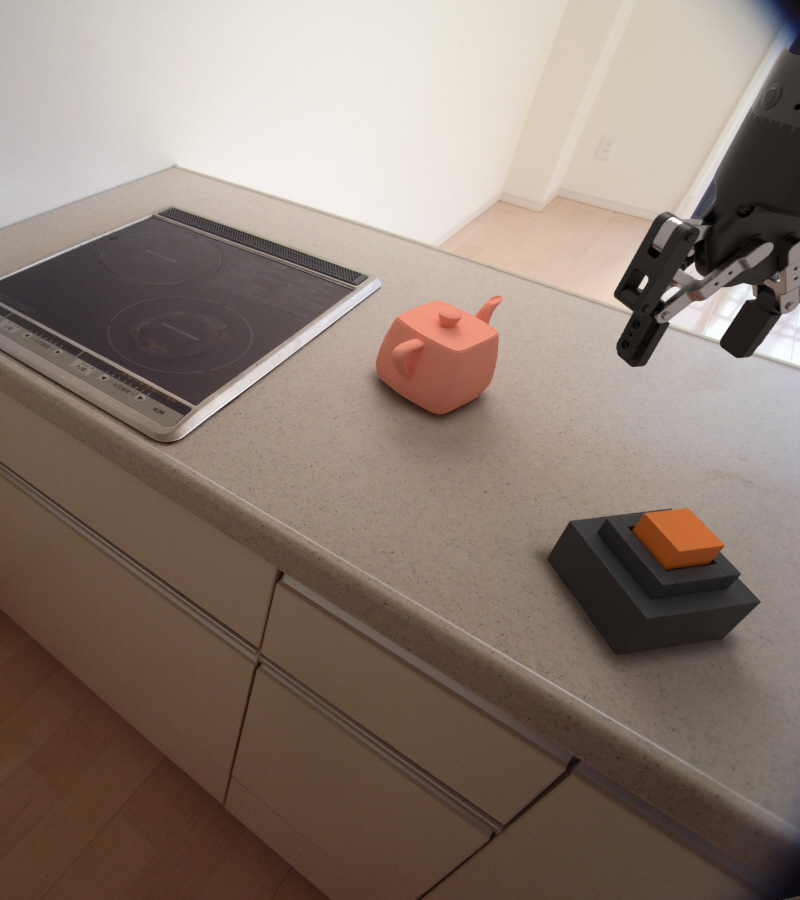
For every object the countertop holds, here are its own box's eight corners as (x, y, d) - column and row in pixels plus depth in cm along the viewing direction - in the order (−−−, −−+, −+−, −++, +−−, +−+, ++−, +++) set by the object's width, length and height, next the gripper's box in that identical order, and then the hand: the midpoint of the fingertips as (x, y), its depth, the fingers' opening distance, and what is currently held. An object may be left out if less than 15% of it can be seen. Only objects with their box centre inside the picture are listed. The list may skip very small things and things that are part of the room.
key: (709, 564, 51) (726, 545, 49) (664, 570, 50) (679, 551, 49) (673, 526, 54) (688, 507, 52) (630, 532, 53) (644, 512, 52)
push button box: (724, 638, 53) (776, 587, 49) (615, 655, 52) (659, 605, 47) (643, 545, 61) (682, 493, 56) (546, 558, 59) (578, 506, 55)
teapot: (346, 385, 79) (362, 309, 72) (442, 341, 87) (465, 269, 80) (418, 436, 72) (444, 358, 65) (516, 384, 80) (548, 309, 73)
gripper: (778, 136, 32) (627, 396, 43) (1010, 128, 34) (809, 378, 45) (672, 97, 38) (562, 336, 48) (878, 92, 40) (727, 322, 50)
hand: (681, 356), depth 47 cm, fingers open, 8 cm apart
